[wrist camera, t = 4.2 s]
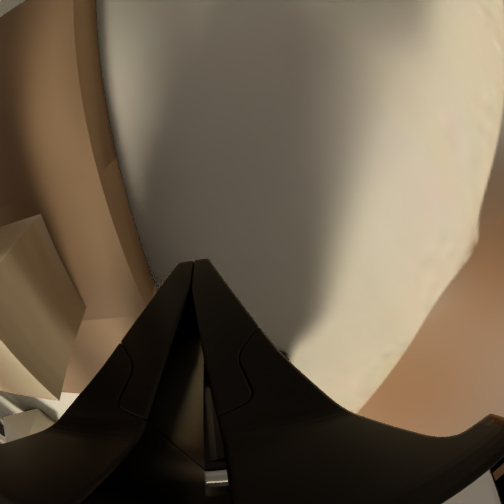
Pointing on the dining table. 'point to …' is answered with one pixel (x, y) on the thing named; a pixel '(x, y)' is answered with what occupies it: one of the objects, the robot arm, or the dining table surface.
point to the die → (25, 424)
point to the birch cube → (35, 311)
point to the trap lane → (70, 170)
